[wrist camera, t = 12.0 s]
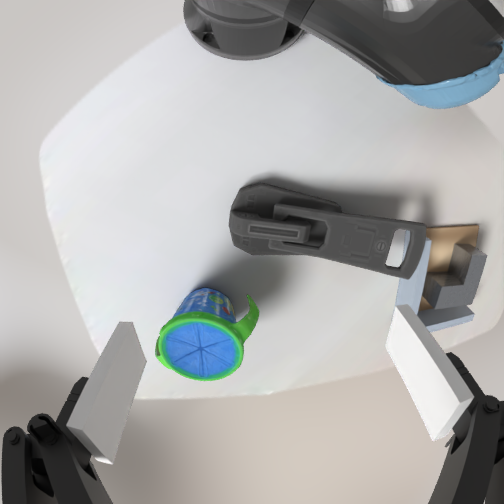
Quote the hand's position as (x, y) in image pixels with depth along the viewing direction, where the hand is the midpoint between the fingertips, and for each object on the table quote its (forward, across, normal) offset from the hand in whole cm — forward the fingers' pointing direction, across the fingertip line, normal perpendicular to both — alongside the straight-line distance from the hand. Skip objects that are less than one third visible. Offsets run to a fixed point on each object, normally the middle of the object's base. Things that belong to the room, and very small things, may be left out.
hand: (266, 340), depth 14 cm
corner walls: (+25, +30, -12) cm, 41 cm away
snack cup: (+25, -8, -15) cm, 30 cm away
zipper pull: (+26, +9, -3) cm, 28 cm away
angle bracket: (+25, +32, -11) cm, 42 cm away
